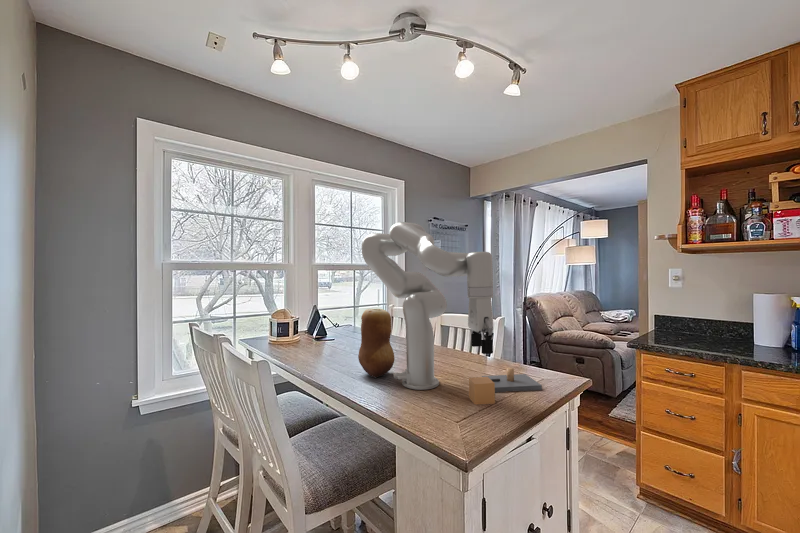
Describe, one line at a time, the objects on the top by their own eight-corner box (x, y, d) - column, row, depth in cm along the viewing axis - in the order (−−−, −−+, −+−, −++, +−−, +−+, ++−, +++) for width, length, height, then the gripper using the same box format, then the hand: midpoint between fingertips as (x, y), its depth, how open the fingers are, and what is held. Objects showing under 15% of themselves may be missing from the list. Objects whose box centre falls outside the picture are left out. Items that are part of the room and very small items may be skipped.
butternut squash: (401, 375, 132) (400, 308, 132) (375, 383, 122) (374, 312, 122) (377, 368, 141) (376, 306, 141) (350, 375, 132) (349, 309, 132)
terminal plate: (493, 392, 112) (493, 375, 112) (481, 380, 124) (481, 364, 124) (541, 389, 114) (541, 372, 114) (525, 378, 126) (525, 362, 126)
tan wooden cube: (474, 404, 102) (474, 384, 102) (469, 397, 108) (468, 377, 108) (494, 403, 103) (494, 383, 103) (487, 396, 109) (487, 376, 109)
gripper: (460, 291, 114) (461, 344, 114) (477, 295, 97) (478, 357, 96) (482, 290, 115) (484, 343, 114) (503, 294, 97) (505, 356, 97)
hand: (481, 349), depth 105 cm, fingers open, 9 cm apart
